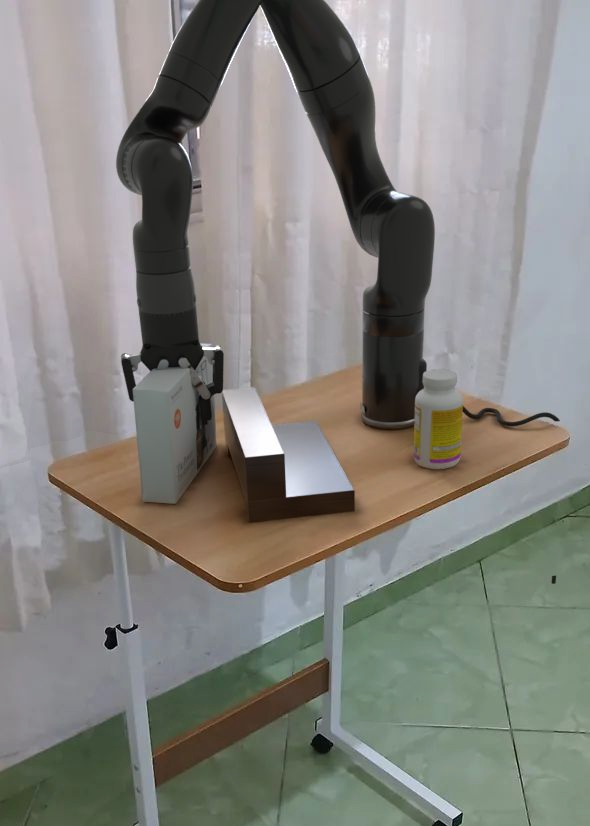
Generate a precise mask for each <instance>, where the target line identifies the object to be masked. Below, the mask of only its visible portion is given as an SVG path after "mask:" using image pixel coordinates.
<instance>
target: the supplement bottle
mask: <svg viewBox="0 0 590 826" xmlns="http://www.w3.org/2000/svg"><path fill="white" fill-rule="evenodd" d="M422 382H423V385H424V389H422V390H421V391H419V392H418V394H417V395H416V398H415V425H413V427H414V431H413V460H414V462H415V463H416V465H418V466H420V467H421V468H425V469H429V470H446V469H450V468H453V467H455V466H456V465H458V464H459V462H460V461H461V449H462V433H463V431H462V430H463V413H464V412H463V406H464V397H463V395H462V393H461V392H460V390H457V389H456V385H457V383H458V373H457V371H456V372H455V371H454V370H451V369H447V368H434V369H428V370H427V371H426V372H424V373H423V381H422Z"/></svg>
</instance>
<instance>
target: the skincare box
mask: <svg viewBox="0 0 590 826" xmlns="http://www.w3.org/2000/svg"><path fill="white" fill-rule="evenodd" d="M200 344H201V346H202V347H203V348H213V344H212V343H201V342H200ZM197 371H198V372H199V374H200V376H201V377H202V379H203V380H204V382H205V383H206V385H208V384H210V383H212V382H213V365H211V364H210V363H209V362H208V358H207V357H205V356H203V358H202V360H201V361H200V363H199V365H198V366H197V368H196V370H195V372H196V373H197ZM190 373H191V372H190V369H189V368H186V369H182V368H181V367H168V368H167V370H156V369H153V370H152V371H150V370H149V372H148V373H147V374H146V375H145V376H144V377H143V378H142V379H141V380H140V381H139V382H138V383H136V386H135V387H134V388H133V399H134V402H133V409H134V410H133V411H134V421H135V431H136V443H137V444H136V445H137V453H138V462H139V475H140V477H139V478H140V487H141V488H140V489H141V500H142V502H143V503H158V504H159V503H161V504H171V505H173V504H174V505H175V504H178V502H179V500H180V499H181V498H182V496H183V495H184V493H185V492H186V490H187V489H188V488H189V487H190V485H191V483H192V482H193V481H194V479H195V478H196V477H197V475H198V474H199V472H200V471H201V469H202V468H203V467H204V465H205V464H206V462H207V461H208V459H209V458H210V457H211V455H212V454H213V453H214V451H215V450H216V448H217V447H218V445H217V426H216V423H217V421H216V405H215V403H216V402H215V395H213V396H212V397H211V411H212V418H211V420H207V421H208V425H203V424H202V420H201V409H200V398H199V395H200V393H199V392H198V390H197V389H196V388H195V387H194V385H193V384H192V382H191V376H190ZM194 378H195V377H194Z"/></svg>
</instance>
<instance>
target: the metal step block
mask: <svg viewBox="0 0 590 826" xmlns="http://www.w3.org/2000/svg"><path fill="white" fill-rule="evenodd" d="M221 402H222V417H223V430H224V443H225V451H226V453H227V456H231V460H232V463H233V467H234V469H235V472H236V476H237V479H238V481H239V484H240V488H241V491H242V495H243V497H244V500H245V513H246V515H247V519H248V523H258V522H266V521H275V520H276V521H277V520H285V519H293V518H295V519H296V518H302V517H303V518H304V517H312V516H322V515H331V514H339V513H348V512H350V513H351V512H355V511H356V510H355V509H356V499H355V498H356V497H355V495H356V494H355V493H356V490H355V489H354V486H353V485H352V482H351V481H350V479H349V478H348V476H347V474H346V472H345V470H344V468H343V466H342V465H341V463H340V461H339V458H338V457H337V456H336V453H335V452H334V450H333V449H332V447H331V444H330V443H329V441H328V438H327V437H326V435H325V434H324V431H323V430H322V428H321V426H320V424H319V423H318V421H317V420H305V421H295V422H283V423H273V424H272V422H271V420H270V418H269V415H268V413H267V411H266V409H265V408H266V407H264V403H263V401H262V399H261V397H260V395H259V392H258V390H257V388H256V386H250V387H239V388H238V387H237V388H227V389H226V388H225V389H223V391H222V393H221Z"/></svg>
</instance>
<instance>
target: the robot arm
mask: <svg viewBox="0 0 590 826" xmlns="http://www.w3.org/2000/svg"><path fill="white" fill-rule="evenodd" d="M259 8H260V9H261V10H262V11H261V12H262V14H263V16H264V18H265V20H266V22H267V24H268V27H269V30H270V32H271V34H272V37H273V40H274V41H275V44H276V46H277V49H278V51H279V54H280V55H281V57H282V60H283V61H284V64H285V66H286V69H287V71H288V73H289V76H290V78H291V81H292V84H293V87H294V89H295V91H296V94H297V96H298V99H299V101H300V102H301V105H302V108H303V109H304V112H305V114H306V116H307V119H308V120H309V122H310V125H311V127H312V129H313V131H314V133H315V136H316V139H317V140H318V143H319V145H320V147H321V150H322V152H323V154H324V156H325V159H326V161H327V163H328V165H329V166H330V169H331V171H332V174H333V176H334V179H335V181H336V184H337V188H338V190H339V194H340V197H341V200H342V202H343V206H344V209H345V212H346V215H347V216H346V217H347V218H348V222H349V225H350V228H351V231H352V233H353V236H354V238H355V241H356V243H357V244H358V245H359V247H360V248H361V249H362V250H363V251H364V252H365V253H366V254H368V255H370V256H372V257H375V258H377V273H376V281H375V283H373V284H371V285H368V286H366V287H365V289H364V290H363V293H362V363H361V364H362V365H361V367H362V371H361V372H362V376H361V377H362V382H361V383H362V384H361V386H362V387H361V389H362V391H361V393H362V396H361V397H362V398H361V401H362V402H359V408H360V410H361V421H362V422H363V423H364V424H366V425H367V426H370V427H373V428H376V429H377V428H378V429H385V430H397V429H405V428H410V427H414V425H415V398H416V395H417V394H418V392H419V391H421V390H422V389H424V385H423V382H422V381H423V373H424V372H426V371H428V370H427V368H428V364H427V361H426V360H425V359H424V337H425V335H424V334H425V309H426V298H427V295H428V293H429V291H430V288H431V285H432V275H433V265H434V252H435V242H436V241H435V240H436V227H435V219H434V214H433V211H432V209H431V207H430V205H429V204H428V203H427V201H425V200H424V199H422V198H421V197H419V196H416V195H412V194H409V193H404V192H400V191H398V190H396V188H395V187H394V185H393V183H392V181H391V179H390V178H389V175H388V174H387V171H386V169H385V166H384V164H383V162H382V159H381V156H380V154H379V150H378V146H377V140H376V99H375V92H374V89H373V86H372V85H373V84H372V82H371V78H370V76H369V74H368V71H367V69H366V68H367V67H366V66H365V63H364V60H363V58H362V55H361V52H360V50H359V48H358V46H357V44H356V42H355V40H354V38H353V36H352V34H351V33H350V31H349V29H348V28H347V27H346V25H345V24H344V22H342V19H340V17H339V16H338V15H337V13H335V10H333V8H332V7H331V6H330V5H329V4H328V3H327V1H326V0H198V1H197V3H196V4H195V6H194V7H193V8H192V10H191V12H189V14H188V16H187V18H186V19H185V20H184V22H183V23H182V25H181V27H180V28H179V30H178V32H177V33H176V36H175V37H174V39H173V42H172V44H171V46H170V48H169V50H168V53H167V55H166V57H165V59H164V61H163V64H162V66H161V69H160V71H159V75H158V77H157V79H156V82H155V85H154V87H153V89H152V91H151V93H150V94H149V96H148V97H147V98H146V99H145V101H144V103H143V104H142V105H141V106H140V108H139V110H138V111H137V113H136V114H135V115H134V118H133V119H132V121H131V122H130V124H129V125H128V127H127V128H126V130H125V132H124V133H123V136H122V138H121V140H120V143H119V145H118V149H117V151H116V157H115V168H116V175H117V177H118V178H119V181H120V182H121V183H122V185H123V186H124V188H126V190H128V191H130V192H131V193H133V194H136V195H140V196H141V219H140V220H138V221H137V222H136V223H135V224H134V226H133V228H132V246H133V257H134V265H135V275H136V276H135V277H136V279H135V284H136V285H135V289H136V298H137V299H136V304H137V308H138V316H139V317H138V318H139V326H140V333H141V344H142V345H141V350H140V352H138V353H132V354H129V353H127V352H124V353H122V354H121V355H120V363H121V367H122V373H123V377H124V381H125V386H126V390H127V394H128V399H129V401H131V402H133V403H134V399H133V388H134V387H135V386H136V385H137V383H136V379H135V375H134V374H135V373H134V372H137V371H138V369H139V364H140V363H142V364H143V365H144V366H145V367H146V369H148V370H149V372H150V371H152V370H153V369H156V370H167V368H168V367H181V368H182V369H186V368H189V369H190V372H191V373H190V376H191V382H192V384H193V385H194V387H195V388H196V389H197V390H198V392H199V393H200V395H199V398H200V409H201V420H202V424H203V425H208V421H207V420H211V418H212V411H211V397H212V396H213V395H214V396H215V395H217V394H218V395H219V394H222V391H223V390H224V366H225V365H224V364H225V363H224V361H225V359H224V358H225V353H224V351H223V348H222V346H221V345H219V344H216V345H214V346H212V348H203V347H202V346H201V344H200V343H201V342H200V337H199V324H198V312H197V303H196V302H197V296H196V289H195V281H194V277H193V273H192V265H191V255H190V245H189V244H190V243H189V235H188V232H189V231H188V230H189V225H190V218H191V209H192V201H193V193H194V192H193V191H194V174H193V173H194V172H193V167H192V164H191V159H190V157H189V154H188V153H187V151H186V149H185V148H184V146H183V145H182V144H181V143H182V142H183V140H184V138H185V137H186V136H187V134H188V133H189V132H191V131H193V130H196V129H197V128H199V127H201V126H202V125H203V124H204V123H205V121H206V120H207V118H208V116H209V114H210V111H211V109H212V107H213V105H214V103H215V100H216V98H217V95H218V93H219V91H220V88H221V87H222V84H223V82H224V79H225V77H226V76H227V75H226V74H227V72H228V70H229V68H230V65H231V63H232V61H233V59H234V57H235V55H236V52H237V51H238V48H239V46H240V44H241V42H242V40H243V38H244V36H245V34H246V32H247V30H248V29H249V26H250V24H251V23H252V21H253V19H254V17H255V16H256V14H257V12H258V10H259ZM203 356H205V357H207V358H208V362H209V363H210V364H211V365H213V382H212V383H210V384H208V385H206V383H205V382H204V380H203V379H202V377H201V376H200V374H199V372H198V371H197V373H196V372H195V370H196V368H197V366H198V365H199V363H200V361H201V360H202V358H203ZM194 377H195V378H194ZM462 413H463V414H464V415H465V416H466V417H468V418H470V419H472V420H478V419H480V418H482V416H483V415H484V414H486V413H492V414H494V415H495V417H496V421H497V422H498V423H499V425H502V426H505V427H519V426H523V425H525V424H526V425H527V424H528V423H530V422H533V421H536V420H537V419H541V418H549V419H551V420H552V421H554V422H560V418H559V417H557V416H556V415H555V414H553V413H551V412H545V411H544V412H539V413H535V414H533V415H530V416H528V417H526V418H524V419H520V420H517V421H506V420H505V419H503V418H502V416H501V415H502V414H501V412H500V411H499V410H498V409H496V408H495V407H494V408H493V407H485V408H482V409H481V410H480V411H479V412H478V413H476V414H474V413H471V412H470V411H469V410H468V408H466V407H465V406H464V405H463V412H462ZM556 583H557V575H551V584H552V585H555V584H556Z"/></svg>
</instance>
